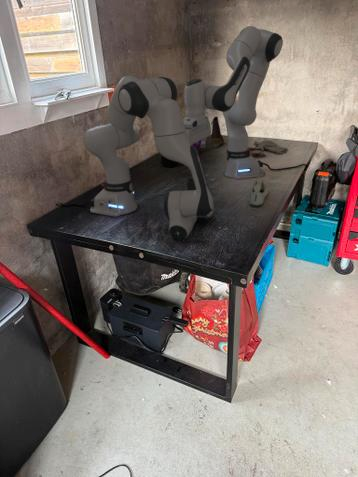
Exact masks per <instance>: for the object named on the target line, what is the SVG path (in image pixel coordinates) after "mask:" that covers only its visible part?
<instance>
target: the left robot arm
mask: <svg viewBox="0 0 358 477" xmlns="http://www.w3.org/2000/svg"><path fill="white" fill-rule="evenodd" d="M177 99H178V88H177V85H176V83H175V82H174V81H173V80H172V79H171V78H169V77H165V76H159V77H146V78H145V77H144V78H141V79H139V78H138V77H136V76H135V75H129V74H128V75H124V76H123V77H121V79H120V80H119V82H118V83H117V84H116V86H115V87H114V90H113V93H112V95H111V98H110V100H109V103H108V107H107V110H106V118H107V120H108V122H109V123H107V124H102V125H98V126H93V127H92V128H89V129H87V130H85V132H84V134H83V136H82V141H83V142H82V143H83V146H84V148H85V149H86V151H87V152H88V153H89V154H92V155H94V156H95V157H96V158H97V159H98V160H99V162H100V163H101V165H102V168H103V171H104V176H105V177H104V178H105V180H104V181H103V183H101V187H103V189H101V190H100V192H98V193H97V194H96V195H95V196H94V197H93V198H91V200H86V201H83V203H81V204H80V203H76V202H73V203H67V204H65V203H62V202H59V203H60V204H57V203H56V204H55V205H56V206H59V205H61V206H64V207H69V206H79V207H83V206H84V205H85V204H88V203H89V204H90V209H89V211H90V214H91V213H92V214H96V215H97V214H98V215H103V216H109V217H115V218H117V217H120V216H122V215H127V214H130V213H132V212H134V211H136V210H137V209H138V207H139V206H138V203H137V200H136V198H135V195H134V194H135V191H134V185H133V180H132V178H131V173H130V172H131V170H130V164H129V162H128V161H127V160H126V158H123V157H120V156H118V153H117V150H121V149H124V148H128V147H131V146H132V145H134V144H136V143H137V142H138V141H139V137H140V131H139V128H138V126H137V125H136V123H135V120H136V118H139V119H144V118H145V117H147V118H149V120H150V121H151V126H152V133H153V139H154V143H155V148H156V150H157V152H158V153H159V154H160V156H161V155H162V156H164V157H165V158H167V159H169V160H173V161H176V162H179V164H182V165H184V166H185V167H187V168H188V169H189V170H190V174H191V176H192V177H193V180H194V183H195V187H196V190H170V191H169V192H168V193H167V194H166V196H165V197H164V200H163V212H164V214H165V216H166V218H167V220H168V221H169V224H168V234H169V235H170V236H171V238H173V239H174V240H179V241H181V240H184V239H186V238H188V237H189V235H190V234H191V232H192V231H193V229H194V226H195V224H196V222H197V220H198V218H210V217H211V216H213V214H214V212H215V204H214V198H213V195H212V192H211V189H210V187H209V184H208V180H207V177H206V174H205V173H206V172H205V169H204V166H203V163H202V159H201V156H200V154H199V151H198V150H197V149H196V147H195V146H192V145H191V144H190V143H189V141H188V139H187V137H186V134H185V127H184V121H183V119H184V117H183V113H182V110H181V107H180V104H179V102H178V101H177Z"/></svg>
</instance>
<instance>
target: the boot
mask: <svg viewBox="0 0 358 477" xmlns="http://www.w3.org/2000/svg"><path fill="white" fill-rule="evenodd" d="M211 125H212V126H211ZM210 126H211V127H212V128H211V135H210V136H211V143H212V146H213V148H214V149H215V148H218V147H219V146H221V145H222V144H224V143H225V139H224V137H223V135H222V133H221V128H220V122H219V116H214V117H213V118H212V121H211V122H210Z"/></svg>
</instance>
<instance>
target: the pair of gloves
mask: <svg viewBox="0 0 358 477" xmlns="http://www.w3.org/2000/svg"><path fill="white" fill-rule="evenodd" d="M253 146H254V147H251V146H247V149H249V150H251V151H252V152H253V154H252V155H250V156H252V157H253V158H254V157H256V156H263V157H267V154H266V153H265V152H264V150H266V151H269V152H272V153H275V154H278V155H280V154H284V153H287V152H288V150H289V149H288V148H287V147H281V146H279V145H278V144H277V143H276V142H274V141H272V140H269V139H266V140H262V141H260V142H258V141H257V140H255V141H254V142H253Z"/></svg>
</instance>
